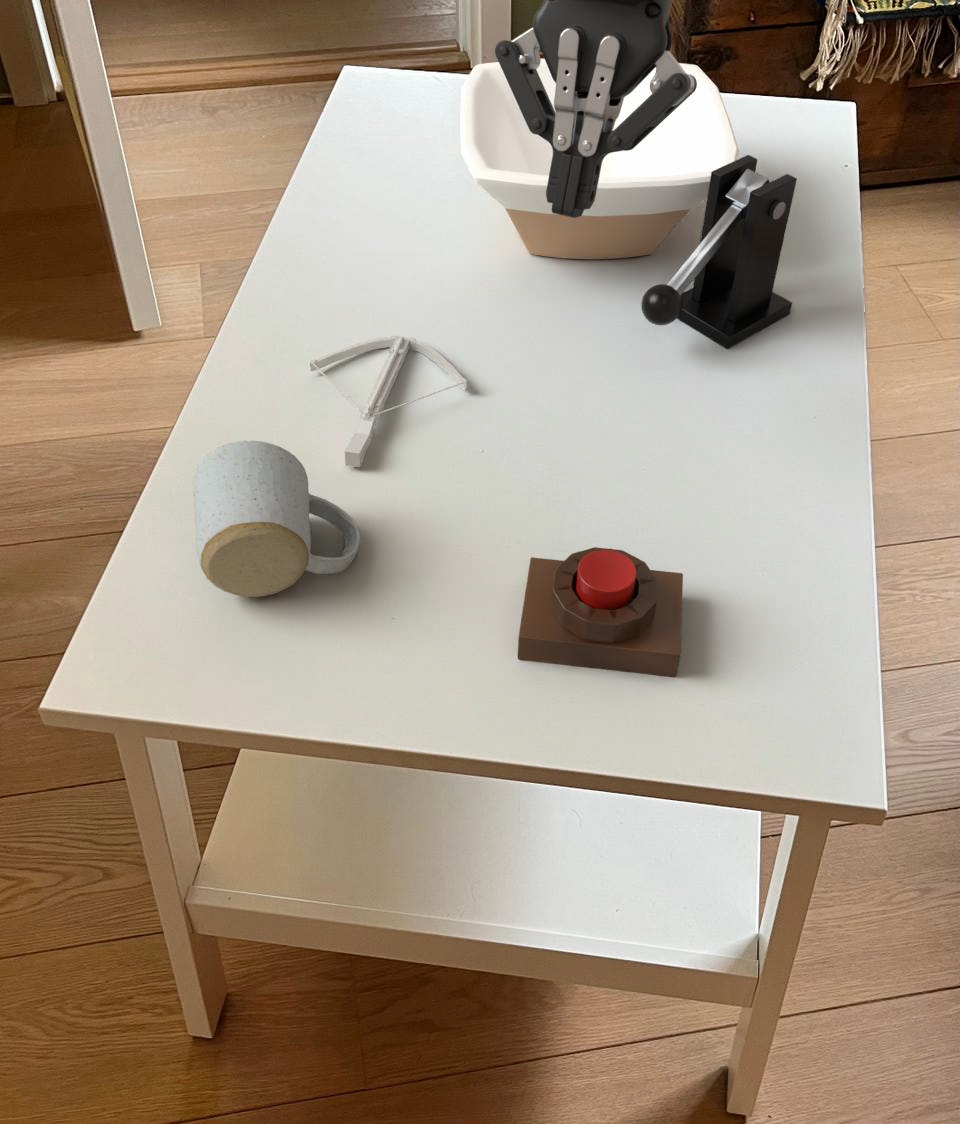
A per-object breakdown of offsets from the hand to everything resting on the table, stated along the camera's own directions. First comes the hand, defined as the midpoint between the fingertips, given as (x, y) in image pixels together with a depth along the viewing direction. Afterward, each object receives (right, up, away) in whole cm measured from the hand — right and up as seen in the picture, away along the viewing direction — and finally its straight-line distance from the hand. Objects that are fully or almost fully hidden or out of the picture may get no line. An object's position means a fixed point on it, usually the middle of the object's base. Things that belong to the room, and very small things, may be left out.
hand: (567, 214), depth 75 cm
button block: (+2, -26, +1) cm, 26 cm away
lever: (+13, +2, +20) cm, 24 cm away
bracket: (+16, -1, +26) cm, 31 cm away
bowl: (+4, +10, +36) cm, 38 cm away
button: (+2, -24, -1) cm, 24 cm away
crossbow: (-13, -10, +17) cm, 24 cm away
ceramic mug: (-19, -22, +6) cm, 30 cm away
